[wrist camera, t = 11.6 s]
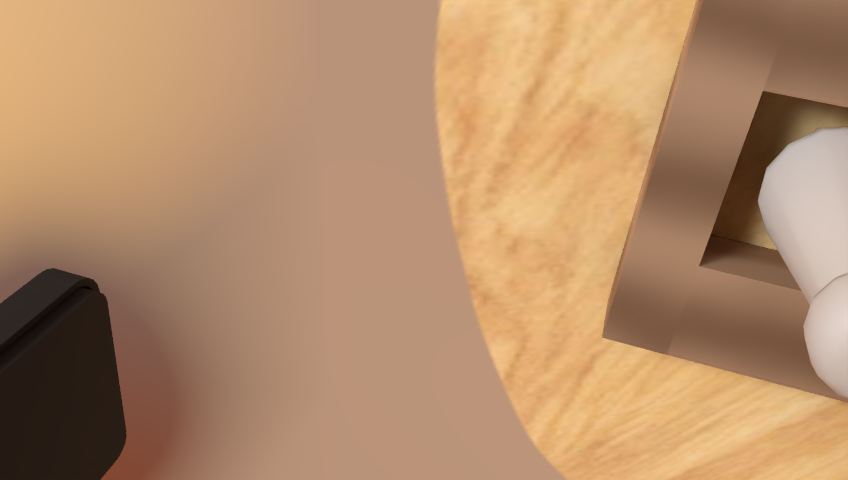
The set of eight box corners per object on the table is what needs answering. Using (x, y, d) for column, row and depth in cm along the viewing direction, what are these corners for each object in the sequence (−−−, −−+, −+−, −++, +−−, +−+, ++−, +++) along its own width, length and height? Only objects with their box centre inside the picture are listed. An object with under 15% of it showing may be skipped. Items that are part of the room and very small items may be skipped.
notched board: (719, -78, 29) (722, -64, 27) (1040, -26, 27) (1075, -6, 25) (607, 301, 39) (602, 337, 36) (838, 360, 37) (849, 402, 34)
